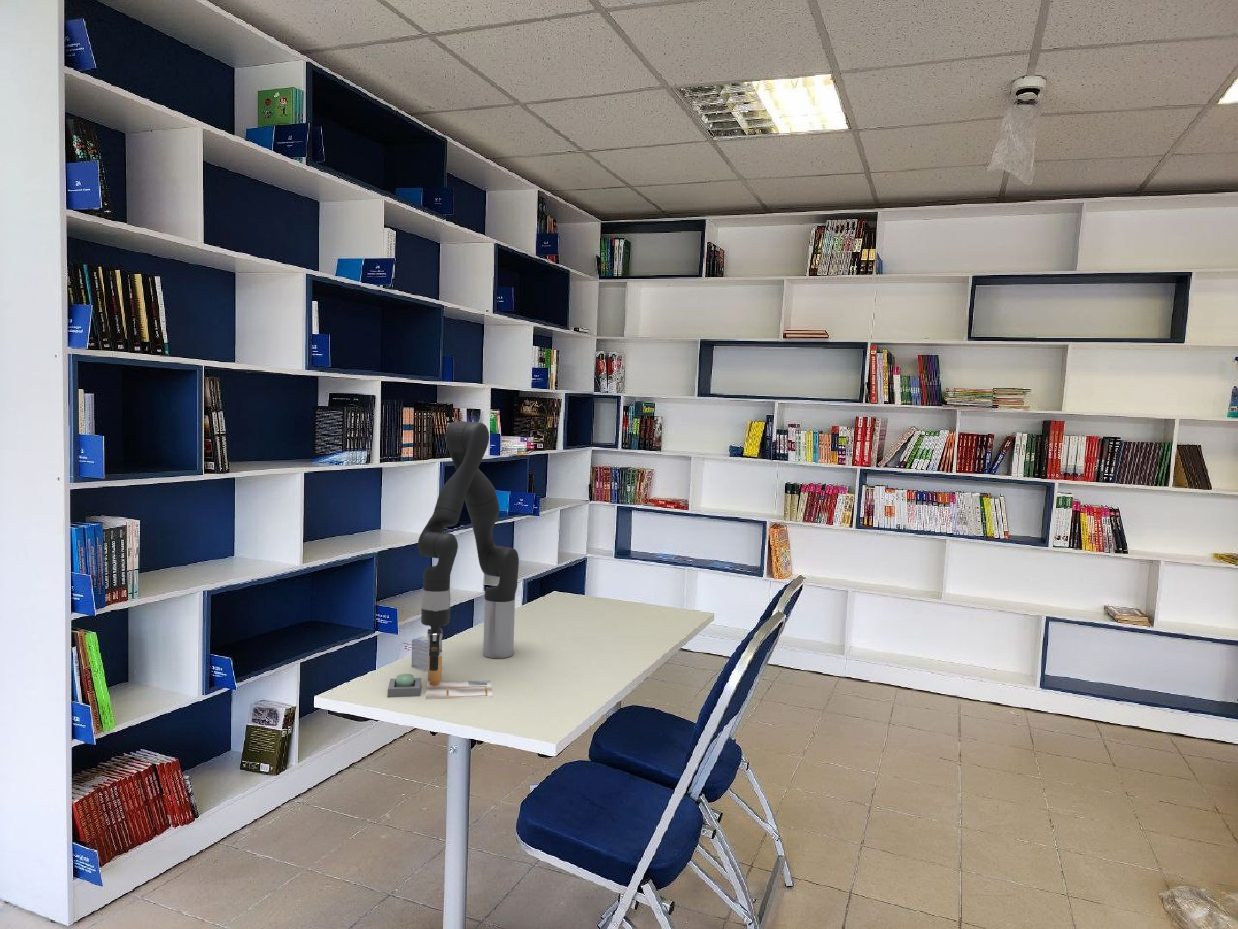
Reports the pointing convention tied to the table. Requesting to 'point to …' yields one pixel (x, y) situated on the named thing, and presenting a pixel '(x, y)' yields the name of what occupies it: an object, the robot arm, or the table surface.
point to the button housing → (404, 689)
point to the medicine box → (420, 652)
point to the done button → (405, 680)
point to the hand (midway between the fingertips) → (434, 665)
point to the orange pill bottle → (435, 676)
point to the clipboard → (459, 689)
